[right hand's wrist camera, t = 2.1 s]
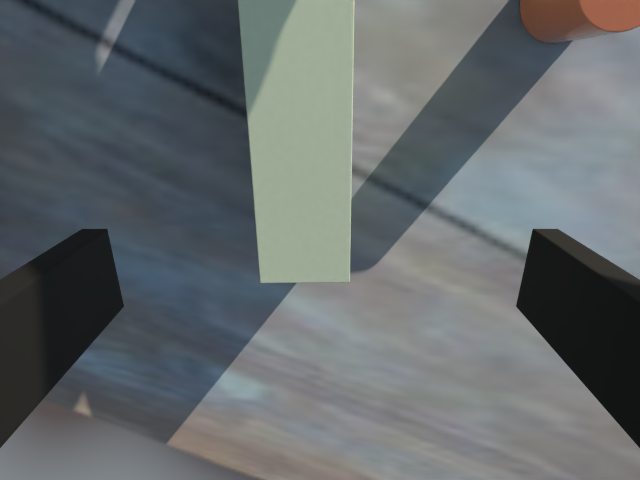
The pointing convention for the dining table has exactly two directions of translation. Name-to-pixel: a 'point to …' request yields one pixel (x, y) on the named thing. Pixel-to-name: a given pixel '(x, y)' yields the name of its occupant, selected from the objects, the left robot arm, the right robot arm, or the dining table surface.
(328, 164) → the beam
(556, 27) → the orange cylinder puck
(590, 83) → the dining table surface
